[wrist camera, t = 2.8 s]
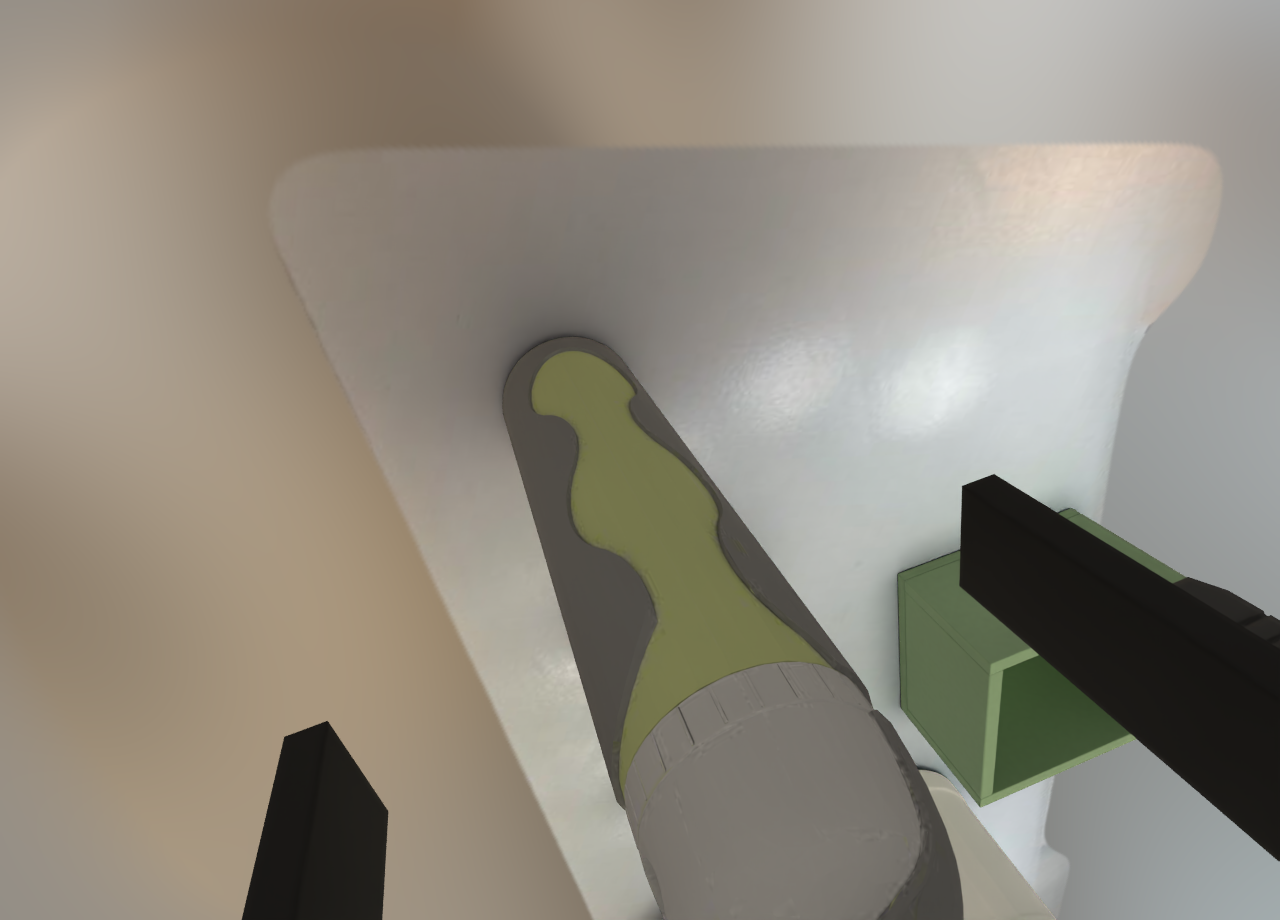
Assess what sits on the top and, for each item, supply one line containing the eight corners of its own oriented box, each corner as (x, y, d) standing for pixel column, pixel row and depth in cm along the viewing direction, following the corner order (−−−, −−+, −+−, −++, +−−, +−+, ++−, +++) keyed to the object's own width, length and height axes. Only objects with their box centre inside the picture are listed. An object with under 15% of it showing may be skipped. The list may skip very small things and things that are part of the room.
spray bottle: (486, 348, 23) (648, 994, 6) (620, 319, 24) (1092, 812, 7) (517, 468, 26) (697, 1178, 8) (638, 438, 26) (1024, 1027, 9)
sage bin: (897, 573, 34) (990, 664, 28) (1071, 507, 35) (1194, 581, 30) (900, 708, 39) (980, 808, 33) (1052, 645, 41) (1154, 731, 35)
